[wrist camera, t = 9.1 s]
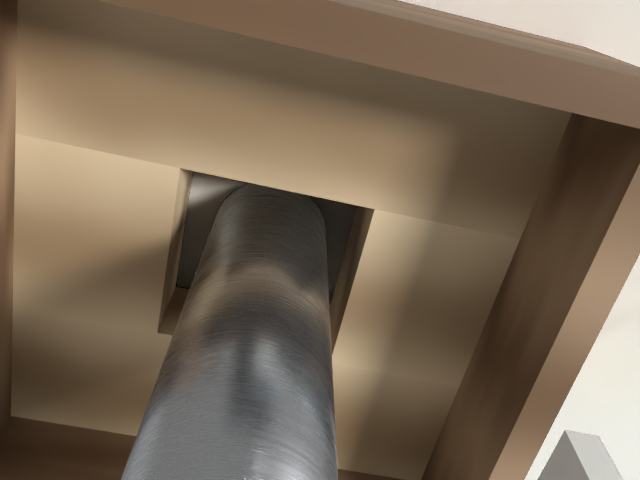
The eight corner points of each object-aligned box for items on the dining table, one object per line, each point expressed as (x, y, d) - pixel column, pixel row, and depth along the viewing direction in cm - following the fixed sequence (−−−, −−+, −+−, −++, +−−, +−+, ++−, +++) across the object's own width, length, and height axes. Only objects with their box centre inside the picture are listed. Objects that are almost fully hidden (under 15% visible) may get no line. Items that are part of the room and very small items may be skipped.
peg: (223, 169, 21) (84, 514, 8) (337, 194, 21) (375, 556, 9) (205, 271, 22) (68, 688, 10) (312, 291, 23) (312, 715, 10)
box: (28, -92, 17) (-135, -114, 11) (585, 47, 19) (719, 96, 13) (18, 378, 24) (-84, 529, 18) (424, 447, 26) (459, 605, 20)
